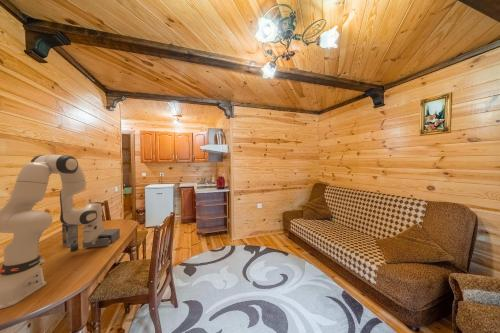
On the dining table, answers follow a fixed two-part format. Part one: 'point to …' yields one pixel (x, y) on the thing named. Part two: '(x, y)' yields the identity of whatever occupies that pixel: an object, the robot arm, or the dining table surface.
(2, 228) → the robot arm
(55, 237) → the dining table surface
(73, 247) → the grey rounded piece
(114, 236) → the housing
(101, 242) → the tray
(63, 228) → the coffee box
